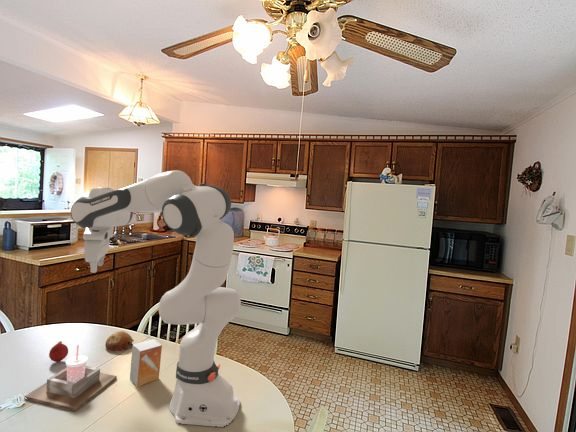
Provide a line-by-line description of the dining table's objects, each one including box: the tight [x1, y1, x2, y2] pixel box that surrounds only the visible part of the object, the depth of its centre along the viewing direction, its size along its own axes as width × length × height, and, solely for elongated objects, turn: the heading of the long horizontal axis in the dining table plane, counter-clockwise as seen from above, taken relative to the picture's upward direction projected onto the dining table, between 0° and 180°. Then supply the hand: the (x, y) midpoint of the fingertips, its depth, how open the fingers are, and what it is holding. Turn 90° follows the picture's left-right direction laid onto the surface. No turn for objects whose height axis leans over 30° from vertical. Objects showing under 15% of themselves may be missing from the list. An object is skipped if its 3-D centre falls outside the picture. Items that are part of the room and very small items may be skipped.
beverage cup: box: [65, 344, 88, 383], centre depth 107 cm, size 6×6×14 cm
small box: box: [129, 338, 163, 388], centre depth 116 cm, size 8×6×13 cm
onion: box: [48, 340, 69, 363], centre depth 121 cm, size 6×6×8 cm
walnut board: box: [24, 365, 117, 412], centre depth 107 cm, size 18×18×5 cm
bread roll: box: [105, 330, 135, 352], centre depth 137 cm, size 10×10×8 cm
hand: (97, 268), depth 118 cm, fingers open, 8 cm apart
